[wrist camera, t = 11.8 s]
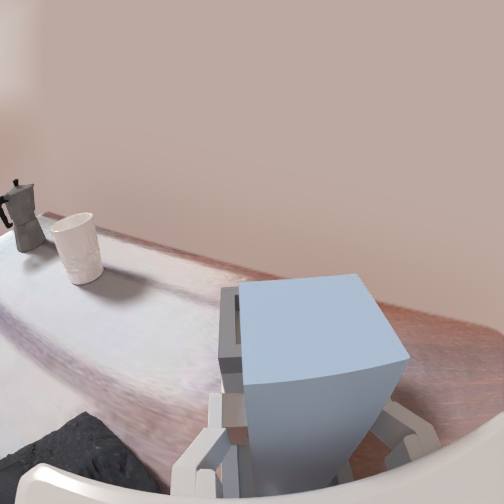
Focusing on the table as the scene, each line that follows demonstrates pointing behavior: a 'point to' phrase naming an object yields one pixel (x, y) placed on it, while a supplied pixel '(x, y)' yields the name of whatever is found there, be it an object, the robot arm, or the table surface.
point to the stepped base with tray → (230, 360)
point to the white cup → (78, 247)
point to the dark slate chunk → (78, 458)
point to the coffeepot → (22, 216)
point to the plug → (312, 376)
